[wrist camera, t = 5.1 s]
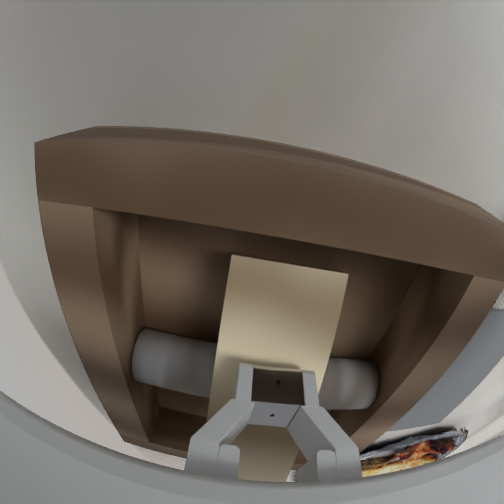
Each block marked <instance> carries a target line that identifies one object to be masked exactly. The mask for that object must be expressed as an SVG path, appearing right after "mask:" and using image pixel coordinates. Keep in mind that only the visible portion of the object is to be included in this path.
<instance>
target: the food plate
mask: <svg viewBox="0 0 504 504" xmlns="http://www.w3.org/2000/svg"><path fill="white" fill-rule="evenodd" d="M464 430H465V427H464ZM445 433H446V434H444V433H443V434H439V435H431V436H430V435H421V436H420V435H419V436H415V437H413V438H412V436H410V437H408V438H406V439H403V440H401V441H400V442H398V443H395V444H389V445H385V446H384V447H383V448H381V449H377V450H372V451H369V452H367V453H365V454H360V455H359V456H360V459H361V458H362V459H363V458H364V457H367V456H371V455H373V456H372V457H368V458H366V459H365V460H360V463H361V470H362V477H367V476H373V475H379V474H384V473H390V472H394V471H399V470H404V469H408V468H412V467H416V466H420V465H423V464H427V463H430V462H434V461H437V460H440V459H442V458H444V457H445V456H447V455H448V454H450V453H451V452H452V451H454V450H455V449H457V448H458V447H459V446H460V445H461V444H462V443H463V442H464V441H465V440H466V438H467V434H468V431H467V430H465V431H464V432H463V430H462V429H460V431H457V429H453V430H450V431H449V432H445ZM375 454H376V455H375Z"/></svg>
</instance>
